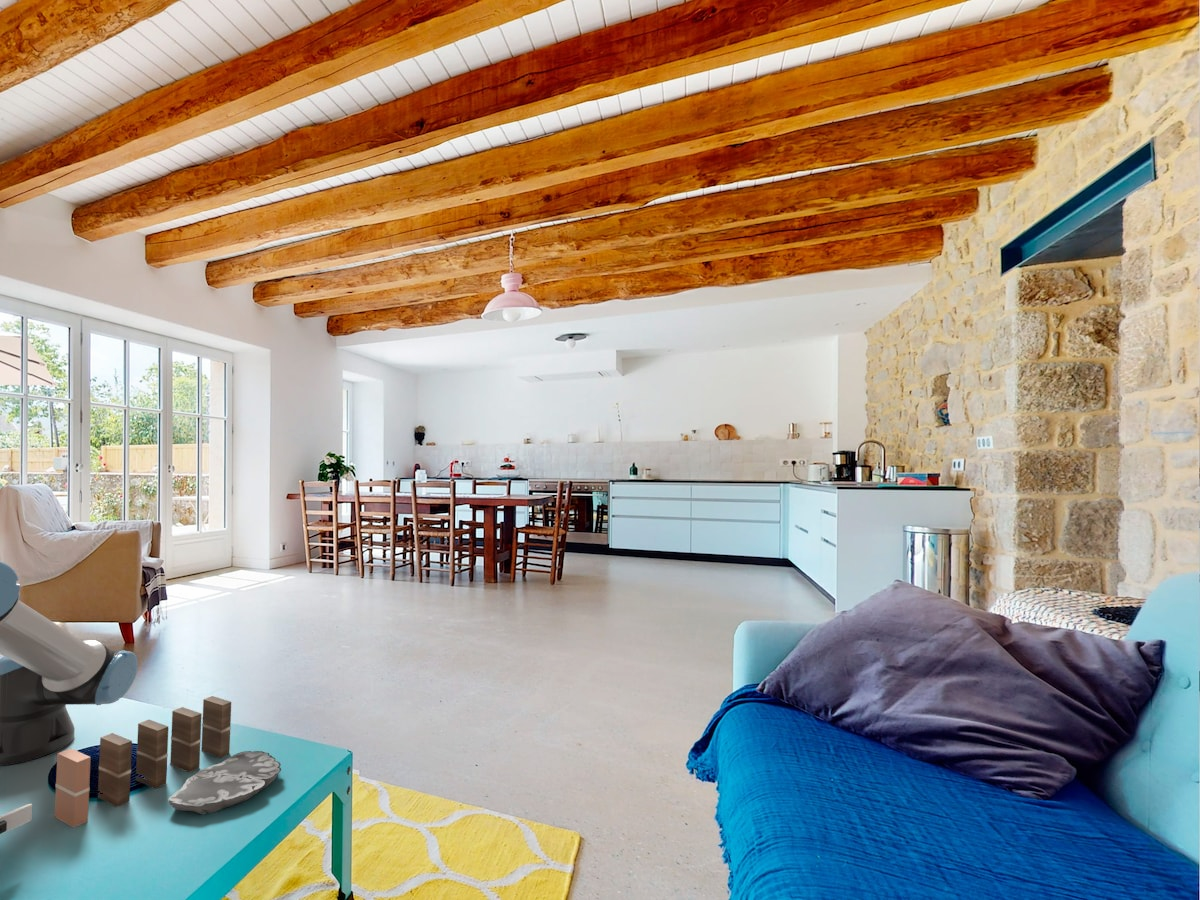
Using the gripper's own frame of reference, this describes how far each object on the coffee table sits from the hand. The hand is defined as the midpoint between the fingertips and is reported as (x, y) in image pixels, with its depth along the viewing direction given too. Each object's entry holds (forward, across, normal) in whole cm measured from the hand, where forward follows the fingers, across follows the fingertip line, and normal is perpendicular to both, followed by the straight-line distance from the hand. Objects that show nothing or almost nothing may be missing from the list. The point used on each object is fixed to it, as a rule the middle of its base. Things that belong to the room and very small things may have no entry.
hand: (11, 800), depth 95 cm
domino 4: (+28, 0, -8) cm, 29 cm away
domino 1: (+8, 0, -8) cm, 12 cm away
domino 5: (+34, 0, -8) cm, 35 cm away
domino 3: (+22, 0, -8) cm, 23 cm away
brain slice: (+27, +18, -9) cm, 34 cm away
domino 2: (+15, 0, -8) cm, 17 cm away
